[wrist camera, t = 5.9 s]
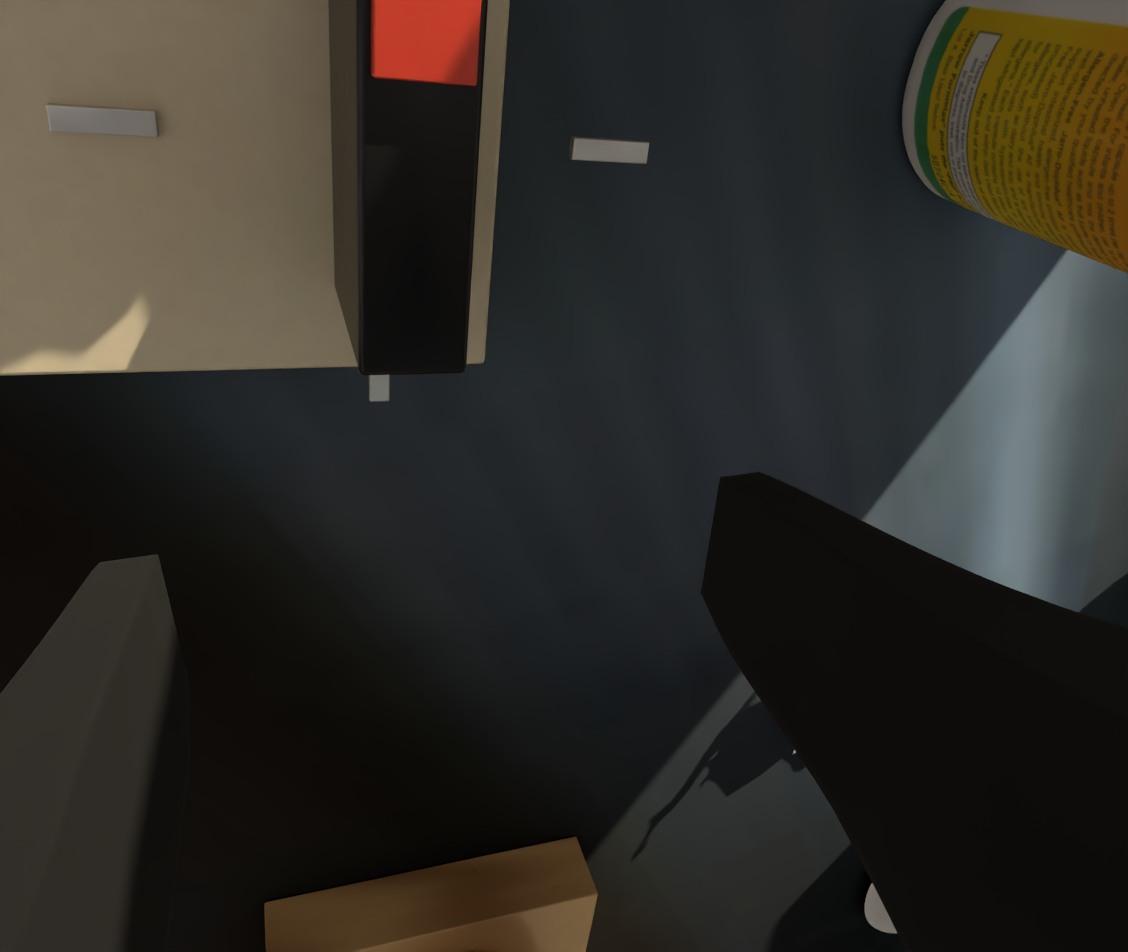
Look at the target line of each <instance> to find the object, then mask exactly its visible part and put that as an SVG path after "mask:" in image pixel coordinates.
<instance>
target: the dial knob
mask: <svg viewBox="0 0 1128 952" xmlns="http://www.w3.org/2000/svg"><path fill="white" fill-rule="evenodd" d="M328 9H329V54H330V99H331V144H332V189H333V235H334V280H335V289H336V292H337V296H338V299H339V303H340V306H341V309H342V313H343V316H344V320H345V323H346V327H347V330H348V334H349V337H350V341H351V344H352V348H353V351H354V355H355V358H356V362H357V365H358V369H359V371H360V373H361V374H363V375H397V374H434V373H461V372H464V370H465V368H466V362H467V346H468V329H469V312H470V295H471V278H472V262H473V245H474V228H475V211H476V195H477V178H478V161H479V144H480V128H481V111H482V94H483V77H484V61H485V44H486V27H487V10H488V0H328Z"/></svg>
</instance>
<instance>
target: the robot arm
mask: <svg viewBox="0 0 1128 952" xmlns="http://www.w3.org/2000/svg"><path fill="white" fill-rule="evenodd" d="M701 594H702V597H703V599H704V601H705V603H706V605H707V607H708V610H709V612H710V614H711V616H712V618H713V621H714V623H715V625H716V627H717V629H718V631H719V633H720V635H721V637H722V639H723V641H724V643H725V645H726V647H727V649H728V651H729V653H730V654H731V656H732V657H733V659H734V660H735V662H736V663H737V665H738V667H739V668H740V670H741V671H742V673H743V674H744V676H745V677H746V679H747V680H748V682H749V683H750V685H751V686H752V688H753V689H754V691H755V692H756V694H757V695H758V697H759V698H760V700H761V701H762V703H763V704H764V706H765V707H766V708H767V710H768V711H769V713H770V714H771V716H772V717H773V719H774V720H775V722H776V723H777V725H778V726H779V728H780V729H781V731H782V732H783V733H784V735H785V736H786V738H787V739H788V741H789V742H790V744H791V745H792V747H793V748H794V750H795V751H796V753H797V754H798V756H799V757H800V759H801V760H802V761H803V763H804V764H805V766H806V767H807V769H808V770H809V772H810V773H811V775H812V776H813V778H814V779H815V781H816V782H817V784H818V786H819V787H820V789H821V790H822V792H823V794H824V795H825V797H826V798H827V800H828V802H829V803H830V805H831V807H832V808H833V810H834V812H835V813H836V815H837V817H838V819H839V821H840V823H841V825H842V827H843V828H844V830H845V832H846V834H847V836H848V838H849V840H850V841H851V843H852V845H853V847H854V849H855V851H856V853H857V855H858V856H859V858H860V860H861V862H862V864H863V866H864V868H865V869H866V871H867V873H868V875H869V877H870V879H871V881H872V883H873V885H874V887H875V889H876V891H877V893H878V895H879V897H880V899H881V901H882V903H883V905H884V907H885V909H886V911H887V913H888V915H889V917H890V919H891V921H892V923H893V925H894V927H895V929H896V931H897V933H898V935H899V937H900V939H901V941H902V943H903V945H904V948H905V950H906V952H1128V628H1127V627H1123V626H1120V625H1117V624H1113V623H1110V622H1107V621H1103V620H1100V619H1097V618H1093V617H1090V616H1087V615H1084V614H1081V613H1078V612H1075V611H1072V610H1069V609H1066V608H1063V607H1060V606H1057V605H1055V604H1052V603H1049V602H1046V601H1044V600H1041V599H1038V598H1036V597H1033V596H1030V595H1028V594H1025V593H1022V592H1019V591H1017V590H1014V589H1011V588H1009V587H1006V586H1003V585H1001V584H998V583H996V582H993V581H991V580H988V579H986V578H984V577H981V576H979V575H976V574H974V573H972V572H970V571H967V570H965V569H963V568H961V567H958V566H956V565H954V564H951V563H949V562H947V561H945V560H942V559H940V558H938V557H936V556H933V555H931V554H929V553H927V552H925V551H923V550H921V549H918V548H916V547H914V546H912V545H910V544H908V543H906V542H904V541H902V540H900V539H897V538H895V537H893V536H891V535H889V534H887V533H885V532H883V531H881V530H879V529H877V528H875V527H873V526H871V525H869V524H867V523H865V522H863V521H861V520H859V519H857V518H855V517H853V516H851V515H849V514H847V513H845V512H843V511H841V510H839V509H837V508H835V507H833V506H832V505H830V504H828V503H826V502H824V501H822V500H820V499H818V498H816V497H814V496H812V495H810V494H808V493H806V492H803V491H801V490H799V489H797V488H795V487H793V486H791V485H789V484H787V483H785V482H782V481H780V480H778V479H776V478H773V477H771V476H768V475H766V474H763V473H761V472H755V473H748V474H740V475H733V476H726V477H720V481H719V487H718V493H717V499H716V505H715V511H714V517H713V523H712V529H711V535H710V541H709V547H708V553H707V559H706V565H705V571H704V577H703V583H702V589H701ZM190 762H191V759H190V683H189V679H188V675H187V671H186V667H185V663H184V659H183V655H182V651H181V646H180V642H179V638H178V634H177V630H176V626H175V622H174V618H173V614H172V610H171V606H170V602H169V597H168V593H167V589H166V585H165V581H164V577H163V573H162V569H161V565H160V561H159V557H158V554H156V555H148V556H141V557H134V558H126V559H119V560H112V561H105V562H100V563H99V564H98V565H97V566H96V567H95V568H94V569H93V570H92V571H91V573H90V574H89V575H88V577H87V578H86V580H85V581H84V582H83V584H82V585H81V587H80V588H79V589H78V591H77V592H76V594H75V595H74V596H73V598H72V599H71V601H70V602H69V604H68V605H67V606H66V608H65V609H64V611H63V612H62V613H61V615H60V616H59V617H58V619H57V620H56V622H55V623H54V624H53V626H52V627H51V628H50V630H49V631H48V632H47V634H46V635H45V637H44V638H43V639H42V641H41V642H40V643H39V645H38V646H37V647H36V649H35V650H34V651H33V653H32V654H31V655H30V656H29V658H28V659H27V660H26V662H25V663H24V664H23V665H22V667H21V668H20V669H19V670H18V672H17V673H16V674H15V676H14V677H13V678H12V679H11V681H10V682H9V683H8V685H7V686H6V687H5V688H4V690H3V691H2V692H1V694H0V952H168V949H169V940H170V932H171V923H172V915H173V907H174V898H175V890H176V882H177V873H178V865H179V857H180V849H181V840H182V832H183V824H184V815H185V806H186V798H187V789H188V780H189V771H190Z"/></svg>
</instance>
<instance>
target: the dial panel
mask: <svg viewBox="0 0 1128 952" xmlns="http://www.w3.org/2000/svg"><path fill="white" fill-rule="evenodd" d="M509 7H510V0H488V10H487V27H486V44H485V61H484V77H483V94H482V111H481V128H480V144H479V161H478V178H477V195H476V211H475V228H474V245H473V262H472V278H471V295H470V312H469V329H468V346H467V362H466V364H481V363H483V362H484V359H485V349H486V334H487V320H488V306H489V292H490V277H491V263H492V249H493V235H494V220H495V206H496V192H497V178H498V164H499V149H500V135H501V121H502V107H503V92H504V78H505V64H506V50H507V35H508V21H509ZM648 150H649V142H647V141H638V140H623V139H607V138H591V137H575V136H572V137H571V143H570V152H569V158H570V159H571V160H581V161H600V162H618V163H637V164H646V163H647V156H648ZM322 367H358V365H357V362H356V358H355V355H354V351H353V348H352V344H351V341H350V337H349V334H348V330H347V327H346V323H345V320H344V316H343V313H342V309H341V306H340V303H339V299H338V296H337V292H336V289H335V280H334V235H333V189H332V144H331V99H330V54H329V9H328V0H0V376H3V375H43V374H83V373H123V372H163V371H203V370H242V369H282V368H322ZM368 376H369V401H370V402H375V401H389V376H390V375H368Z"/></svg>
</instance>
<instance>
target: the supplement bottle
mask: <svg viewBox="0 0 1128 952" xmlns="http://www.w3.org/2000/svg"><path fill="white" fill-rule="evenodd" d="M902 130H903V136H904V144H905V147H906V150H907V154H908V157H909V159H910V162H911V164H912V166H913V168H914V170H915V172H916V173H917V175H918V176H919V177H920V179H921V180H922V181H923V183H924V184H925V185H926V186H927V187H928V188H929V189H930V190H931V191H932V192H934V193H935V194H937V195H938V196H940V197H942V198H944V199H946V200H948V201H950V202H953V203H955V204H957V205H959V206H961V207H964V208H966V209H969V210H971V211H974V212H976V213H979V214H981V215H984V216H986V217H988V218H991V219H993V220H996V221H998V222H1000V223H1002V224H1005V225H1007V226H1011V227H1014V228H1016V229H1019V230H1021V231H1023V232H1026V233H1029V234H1031V235H1034V236H1036V237H1038V238H1041V239H1043V240H1046V241H1048V242H1050V243H1053V244H1056V245H1058V246H1061V247H1063V248H1066V249H1069V250H1071V251H1074V252H1076V253H1078V254H1081V255H1083V256H1086V257H1088V258H1090V259H1093V260H1096V261H1098V262H1101V263H1103V264H1106V265H1108V266H1111V267H1113V268H1116V269H1118V270H1121V271H1123V272H1126V273H1128V0H945V2H944V3H943V4H942V6H941V7H940V9H939V10H938V11H937V13H936V14H935V16H934V17H933V19H932V21H931V22H930V24H929V26H928V28H927V30H926V31H925V33H924V35H923V38H922V40H921V42H920V45H919V47H918V49H917V51H916V55H915V58H914V61H913V64H912V68H911V71H910V74H909V77H908V81H907V85H906V89H905V93H904V101H903V108H902Z"/></svg>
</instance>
